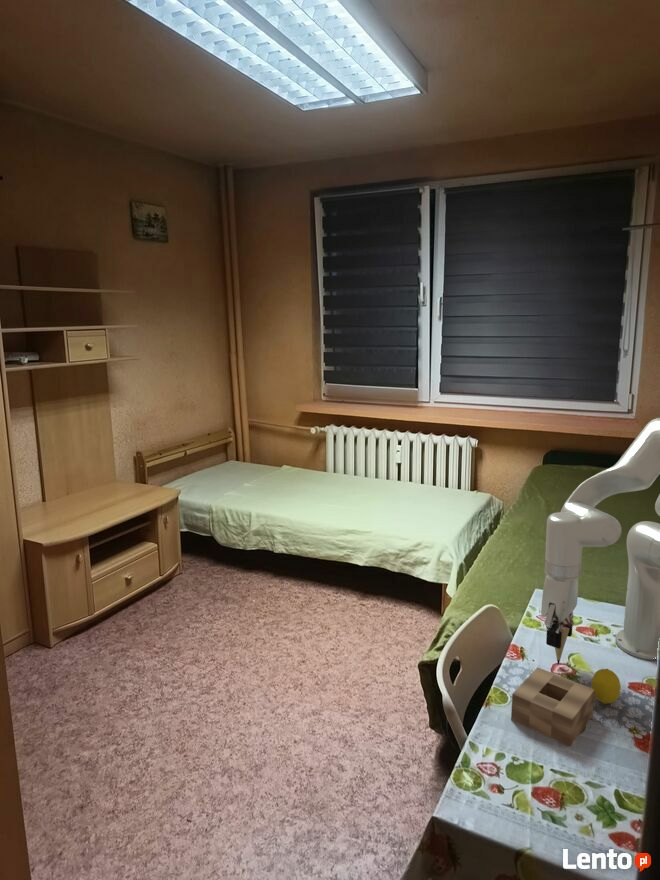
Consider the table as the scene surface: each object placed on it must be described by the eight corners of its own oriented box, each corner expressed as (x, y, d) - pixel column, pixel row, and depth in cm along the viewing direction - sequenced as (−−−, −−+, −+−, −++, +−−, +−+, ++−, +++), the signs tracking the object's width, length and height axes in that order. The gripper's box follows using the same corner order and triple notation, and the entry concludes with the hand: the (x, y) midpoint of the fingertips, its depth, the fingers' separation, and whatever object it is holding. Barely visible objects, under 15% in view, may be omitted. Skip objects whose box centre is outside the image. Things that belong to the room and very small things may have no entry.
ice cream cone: (544, 669, 139) (547, 610, 135) (545, 656, 144) (547, 598, 141) (571, 674, 137) (574, 613, 133) (571, 660, 142) (574, 601, 138)
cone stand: (535, 691, 131) (537, 667, 130) (592, 715, 123) (594, 689, 122) (511, 719, 122) (512, 693, 121) (570, 747, 114) (572, 719, 113)
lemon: (622, 713, 124) (625, 678, 122) (593, 710, 125) (596, 675, 123) (615, 696, 129) (618, 663, 127) (587, 693, 130) (590, 660, 128)
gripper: (561, 551, 143) (557, 620, 147) (530, 576, 131) (527, 650, 135) (593, 559, 138) (589, 630, 142) (564, 586, 126) (560, 663, 130)
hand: (559, 639), depth 139 cm, fingers closed on ice cream cone, 5 cm apart
